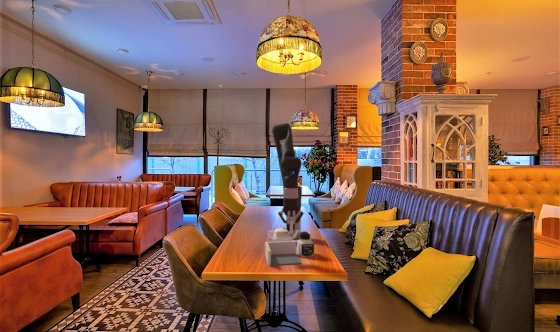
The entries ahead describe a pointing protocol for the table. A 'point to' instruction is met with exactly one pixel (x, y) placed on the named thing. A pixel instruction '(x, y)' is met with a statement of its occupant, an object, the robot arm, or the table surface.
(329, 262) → the table surface
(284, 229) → the teapot
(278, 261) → the slate mat
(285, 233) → the bracket
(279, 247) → the corner walls
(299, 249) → the medicine bottle
